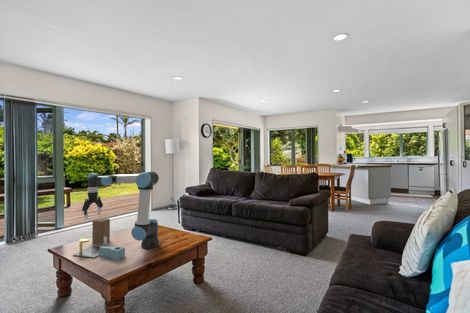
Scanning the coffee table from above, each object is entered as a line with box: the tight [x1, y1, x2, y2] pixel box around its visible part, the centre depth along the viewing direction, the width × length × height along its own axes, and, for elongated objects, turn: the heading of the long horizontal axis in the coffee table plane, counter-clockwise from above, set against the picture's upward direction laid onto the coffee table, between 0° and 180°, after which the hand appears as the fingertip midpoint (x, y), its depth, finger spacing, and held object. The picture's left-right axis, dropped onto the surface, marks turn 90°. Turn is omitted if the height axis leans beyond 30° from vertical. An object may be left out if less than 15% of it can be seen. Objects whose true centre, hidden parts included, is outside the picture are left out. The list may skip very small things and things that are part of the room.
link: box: [99, 245, 126, 261], centre depth 189 cm, size 18×7×7 cm, turn 77°
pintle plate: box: [72, 237, 108, 259], centre depth 197 cm, size 20×20×11 cm
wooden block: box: [91, 218, 111, 245], centre depth 221 cm, size 10×10×20 cm
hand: (92, 216), depth 208 cm, fingers open, 13 cm apart
